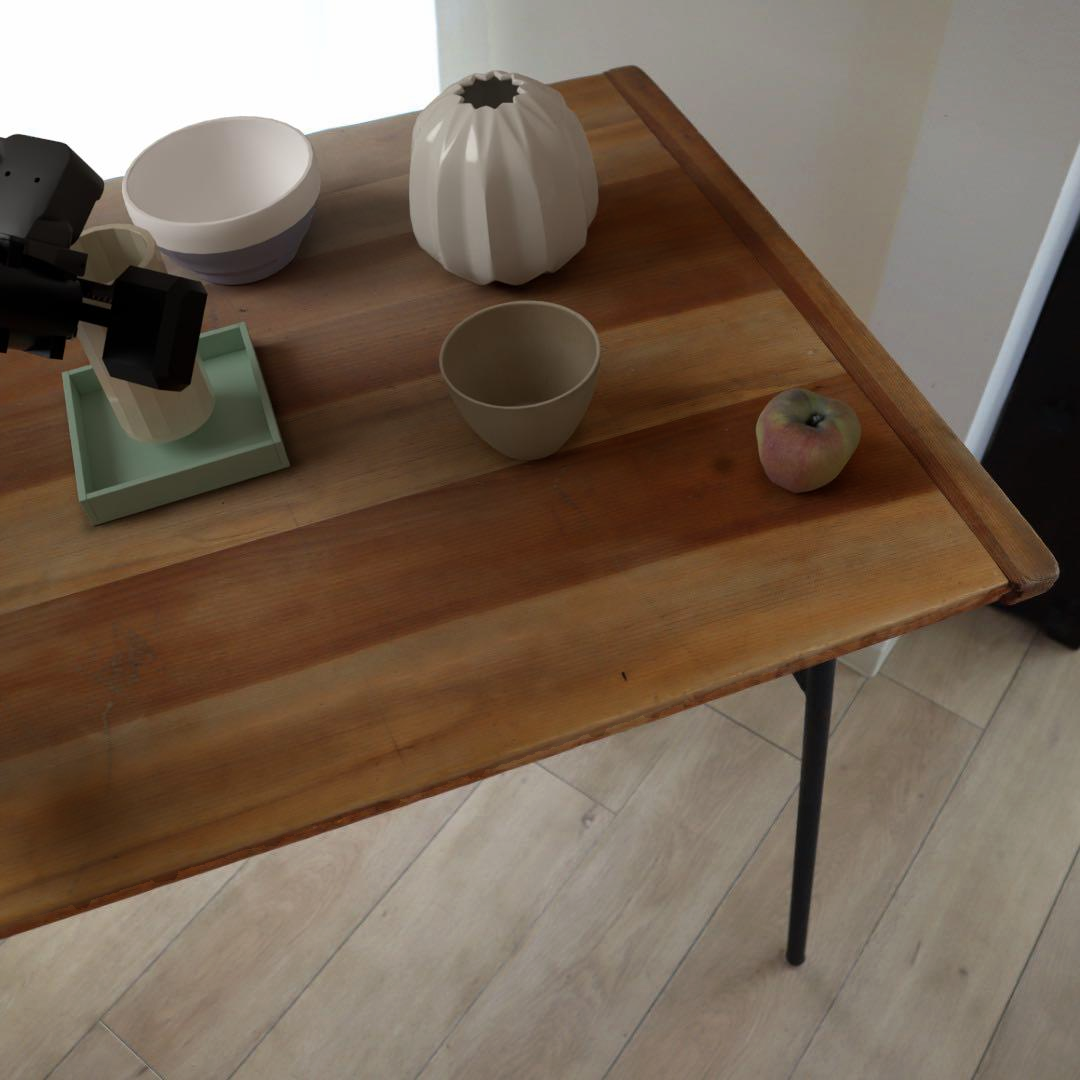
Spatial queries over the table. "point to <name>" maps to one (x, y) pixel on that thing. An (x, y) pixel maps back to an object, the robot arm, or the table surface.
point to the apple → (806, 439)
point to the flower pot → (522, 375)
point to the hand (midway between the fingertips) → (147, 320)
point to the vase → (501, 179)
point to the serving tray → (187, 463)
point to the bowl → (226, 196)
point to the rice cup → (133, 404)
